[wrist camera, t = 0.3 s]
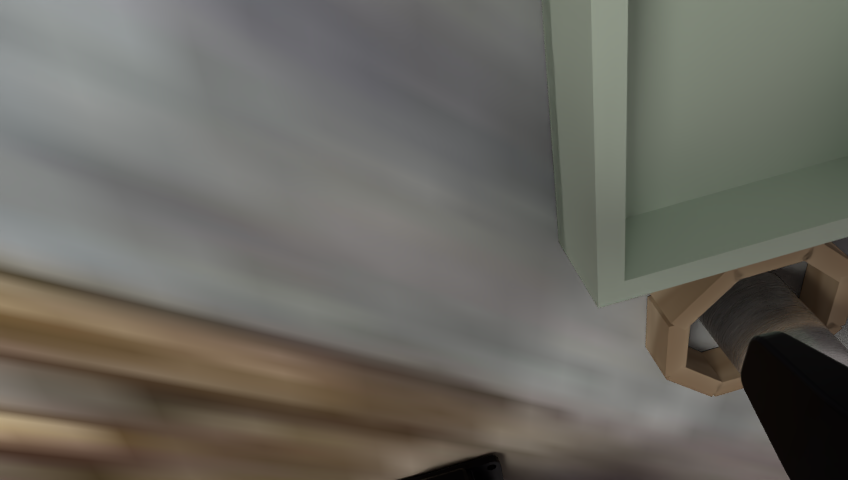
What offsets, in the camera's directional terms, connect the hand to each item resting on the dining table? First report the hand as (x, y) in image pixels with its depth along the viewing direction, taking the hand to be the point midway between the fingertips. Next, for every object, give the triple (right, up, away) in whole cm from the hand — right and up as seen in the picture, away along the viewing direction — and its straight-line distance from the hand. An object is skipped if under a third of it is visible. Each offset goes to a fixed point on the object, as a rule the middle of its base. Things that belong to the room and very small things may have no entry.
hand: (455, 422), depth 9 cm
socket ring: (+14, 0, +22) cm, 27 cm away
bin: (+10, +9, +14) cm, 20 cm away
